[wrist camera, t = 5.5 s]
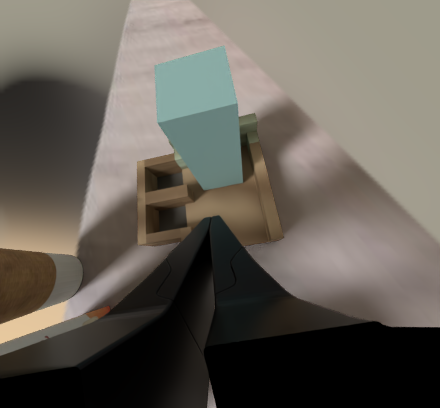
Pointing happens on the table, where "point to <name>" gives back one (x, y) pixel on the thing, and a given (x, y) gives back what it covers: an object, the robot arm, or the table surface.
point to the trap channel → (206, 197)
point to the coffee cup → (35, 281)
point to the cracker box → (52, 331)
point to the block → (201, 116)
